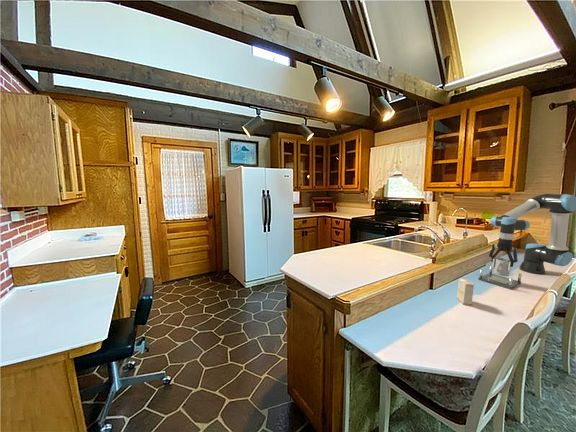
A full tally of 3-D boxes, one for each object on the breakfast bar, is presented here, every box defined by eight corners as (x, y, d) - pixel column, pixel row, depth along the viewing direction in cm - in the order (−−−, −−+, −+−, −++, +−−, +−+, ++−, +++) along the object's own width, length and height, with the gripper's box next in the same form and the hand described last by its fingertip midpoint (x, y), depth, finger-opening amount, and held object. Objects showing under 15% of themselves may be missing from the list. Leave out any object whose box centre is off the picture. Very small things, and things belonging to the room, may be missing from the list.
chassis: (489, 274, 192) (490, 265, 191) (521, 283, 176) (522, 274, 175) (478, 279, 182) (479, 270, 181) (510, 289, 166) (512, 279, 165)
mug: (496, 271, 185) (498, 257, 183) (511, 274, 178) (513, 260, 176) (489, 273, 179) (491, 259, 178) (503, 277, 172) (506, 263, 170)
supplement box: (471, 305, 144) (474, 284, 142) (462, 304, 145) (465, 283, 143) (464, 298, 152) (467, 279, 150) (456, 298, 153) (458, 278, 151)
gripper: (485, 236, 181) (481, 265, 185) (523, 242, 163) (518, 274, 167) (490, 235, 185) (485, 263, 189) (527, 241, 167) (522, 272, 171)
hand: (501, 268), depth 178 cm, fingers closed on mug, 8 cm apart
